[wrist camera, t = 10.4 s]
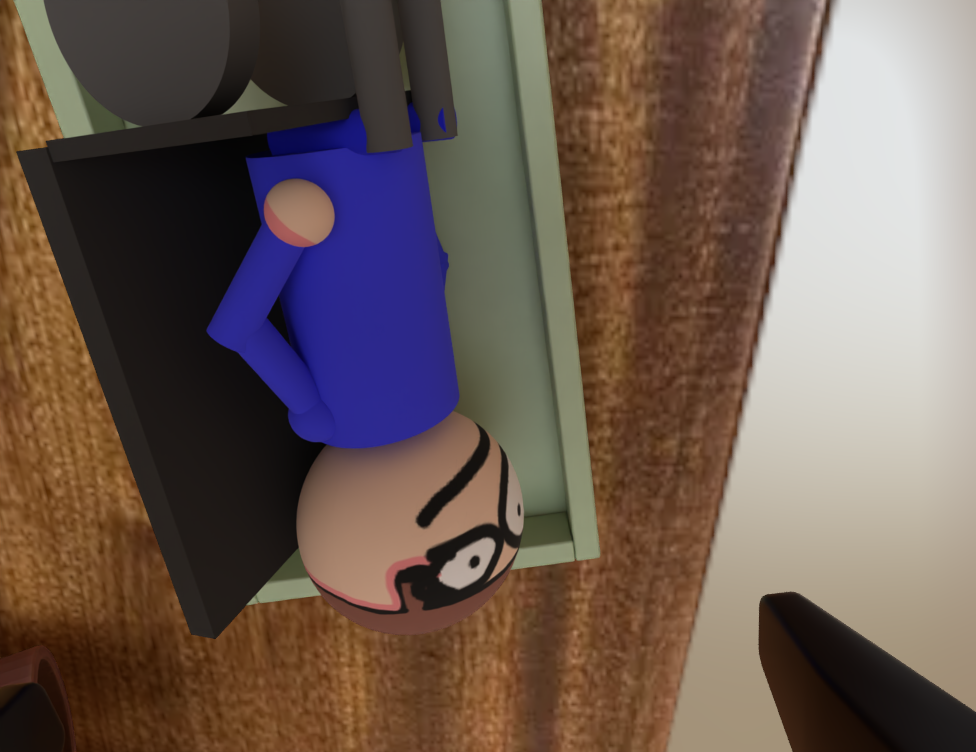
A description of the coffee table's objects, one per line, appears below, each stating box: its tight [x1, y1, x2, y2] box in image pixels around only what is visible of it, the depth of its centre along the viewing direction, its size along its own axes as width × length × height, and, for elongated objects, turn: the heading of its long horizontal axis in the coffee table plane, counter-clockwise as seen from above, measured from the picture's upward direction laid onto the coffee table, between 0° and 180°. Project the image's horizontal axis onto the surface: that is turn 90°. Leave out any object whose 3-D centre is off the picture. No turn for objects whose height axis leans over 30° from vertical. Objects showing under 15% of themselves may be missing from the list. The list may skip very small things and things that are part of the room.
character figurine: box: [17, 0, 524, 639], centre depth 14 cm, size 8×7×15 cm
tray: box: [14, 0, 600, 605], centre depth 17 cm, size 10×17×2 cm, turn 9°
